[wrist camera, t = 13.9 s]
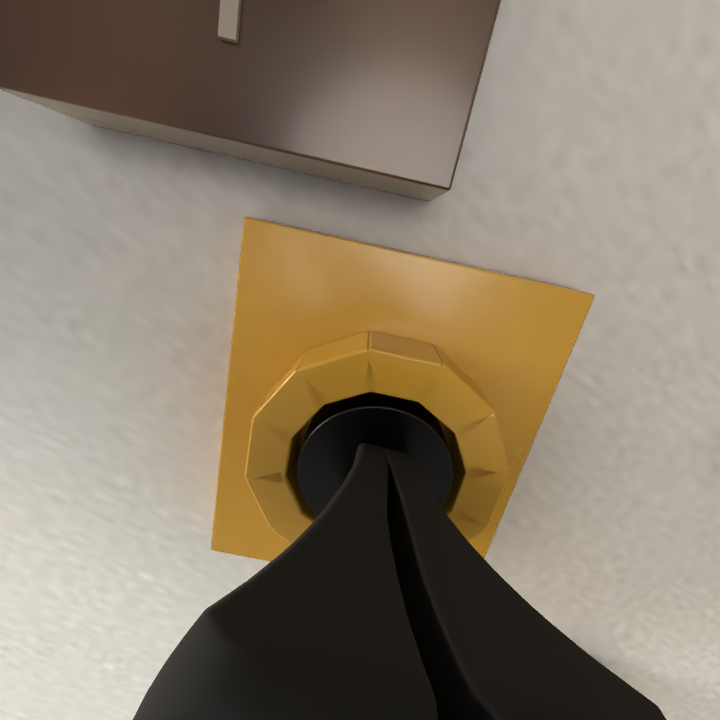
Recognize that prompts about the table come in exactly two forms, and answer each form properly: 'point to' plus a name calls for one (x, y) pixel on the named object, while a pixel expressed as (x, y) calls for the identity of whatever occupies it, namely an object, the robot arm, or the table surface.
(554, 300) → the button box
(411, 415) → the black button
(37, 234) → the table surface
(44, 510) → the table surface
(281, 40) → the dial panel
